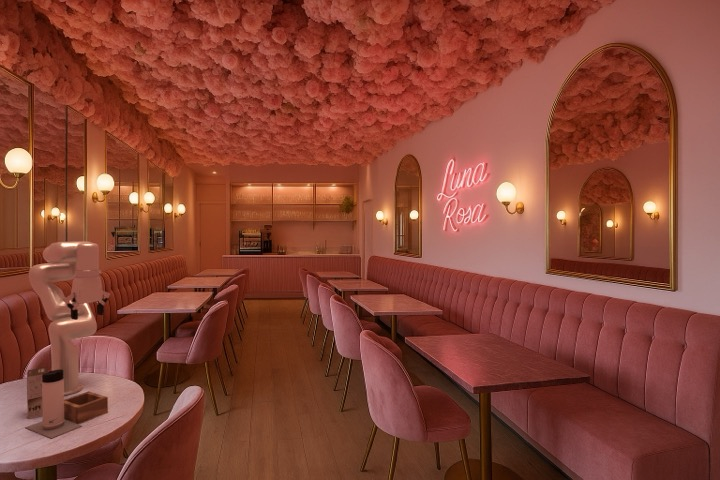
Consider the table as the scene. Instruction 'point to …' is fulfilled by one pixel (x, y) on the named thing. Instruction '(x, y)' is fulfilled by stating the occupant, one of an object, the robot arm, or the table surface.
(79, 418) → the frame
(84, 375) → the table surface
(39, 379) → the coffee box
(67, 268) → the robot arm
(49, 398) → the travel mug
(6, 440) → the table surface
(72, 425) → the rubber mat
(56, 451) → the table surface
